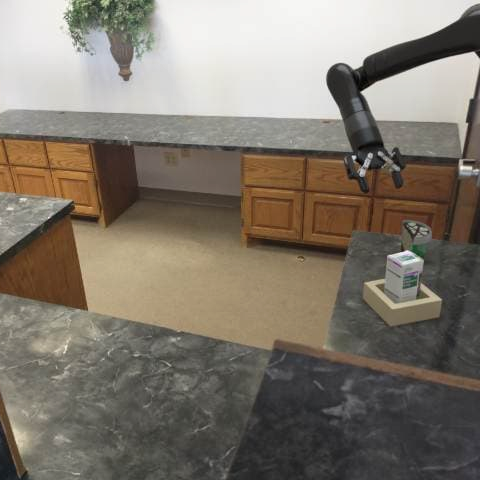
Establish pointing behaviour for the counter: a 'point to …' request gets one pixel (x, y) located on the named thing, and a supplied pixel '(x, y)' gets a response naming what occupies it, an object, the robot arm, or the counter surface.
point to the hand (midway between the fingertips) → (383, 190)
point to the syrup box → (403, 277)
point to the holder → (401, 305)
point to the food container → (415, 237)
